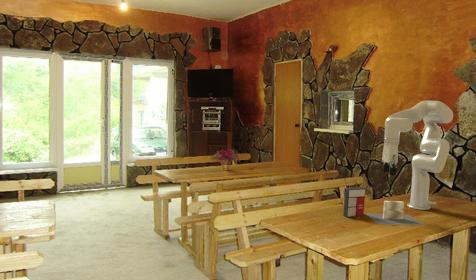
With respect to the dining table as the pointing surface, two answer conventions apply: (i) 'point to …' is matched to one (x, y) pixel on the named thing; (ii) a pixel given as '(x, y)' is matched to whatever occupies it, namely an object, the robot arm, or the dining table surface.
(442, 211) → the dining table surface
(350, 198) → the grey and red box
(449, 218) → the dining table surface
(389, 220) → the mat
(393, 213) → the tile
